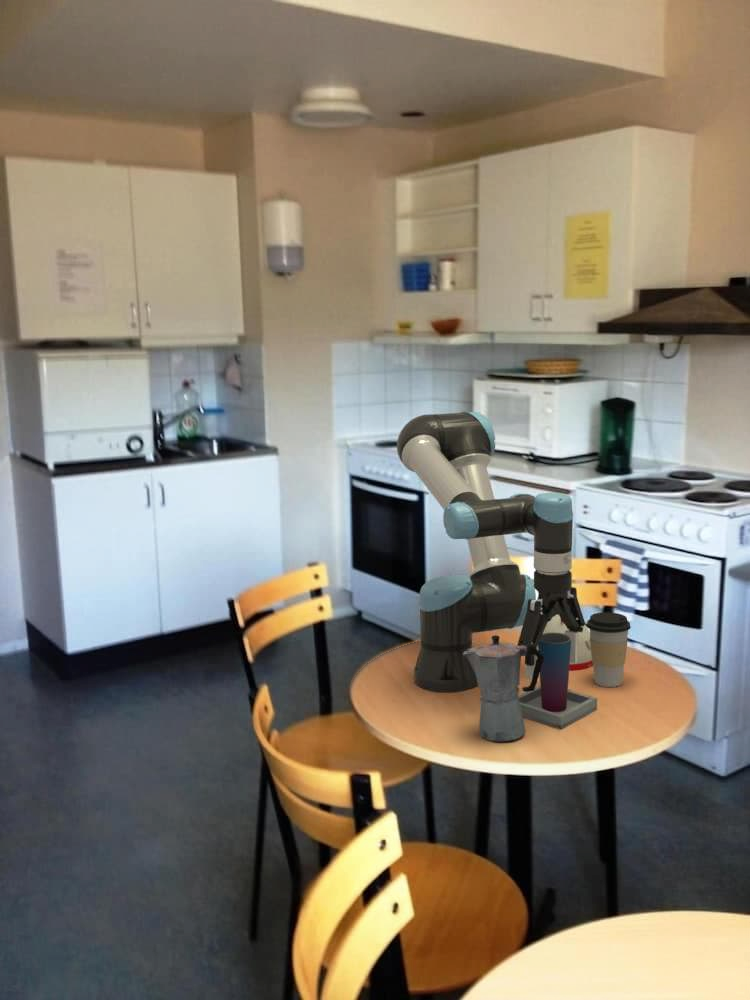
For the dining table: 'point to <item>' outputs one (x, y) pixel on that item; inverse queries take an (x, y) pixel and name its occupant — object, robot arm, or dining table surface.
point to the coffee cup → (608, 647)
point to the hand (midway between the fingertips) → (551, 670)
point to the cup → (554, 670)
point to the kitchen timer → (582, 647)
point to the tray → (574, 711)
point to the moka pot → (501, 687)
